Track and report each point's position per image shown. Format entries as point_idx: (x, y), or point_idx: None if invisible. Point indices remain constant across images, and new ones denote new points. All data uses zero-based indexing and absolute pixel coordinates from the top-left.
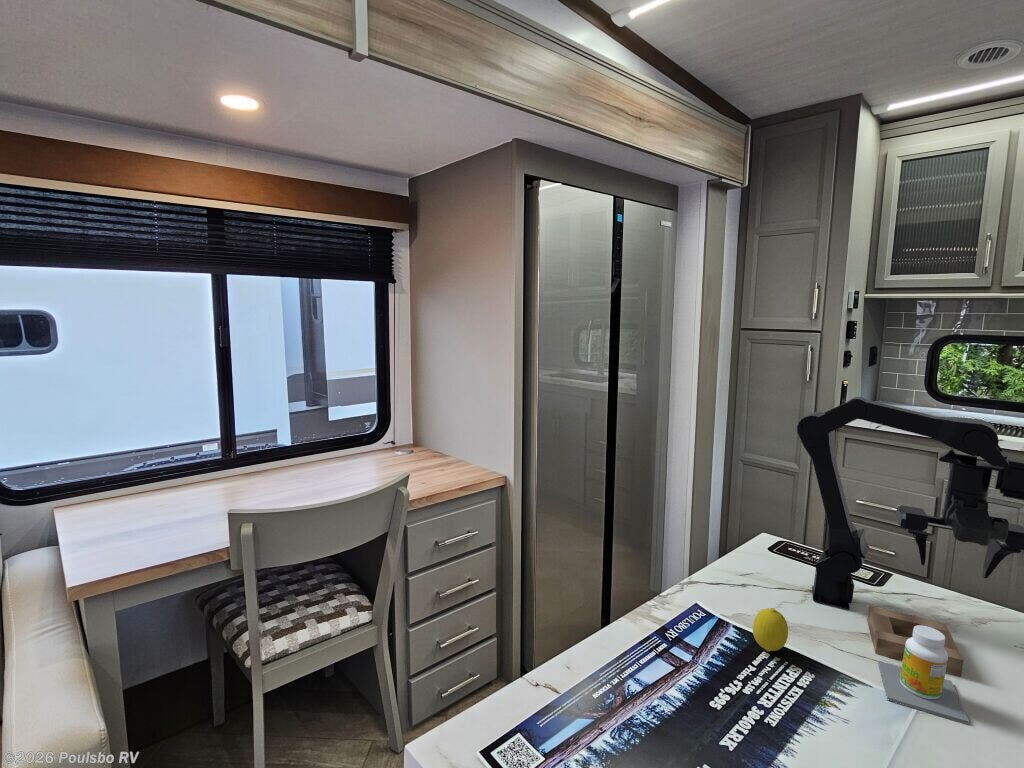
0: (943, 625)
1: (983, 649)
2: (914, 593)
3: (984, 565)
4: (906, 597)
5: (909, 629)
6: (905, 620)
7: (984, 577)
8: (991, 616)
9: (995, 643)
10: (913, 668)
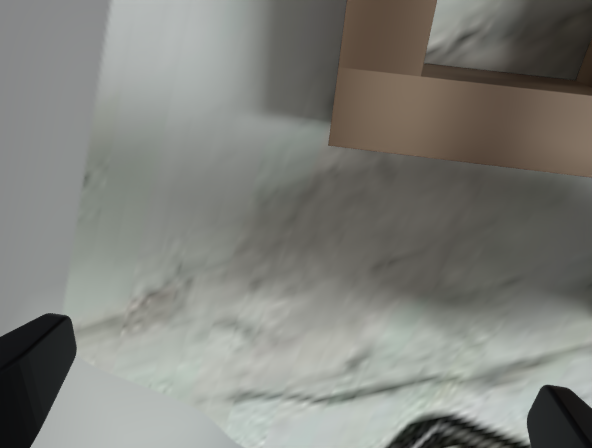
0: (345, 121)
1: (197, 101)
2: (318, 404)
3: (15, 444)
4: (356, 374)
5: (497, 76)
6: (533, 90)
7: (66, 318)
8: (119, 342)
9: (144, 169)
10: None
